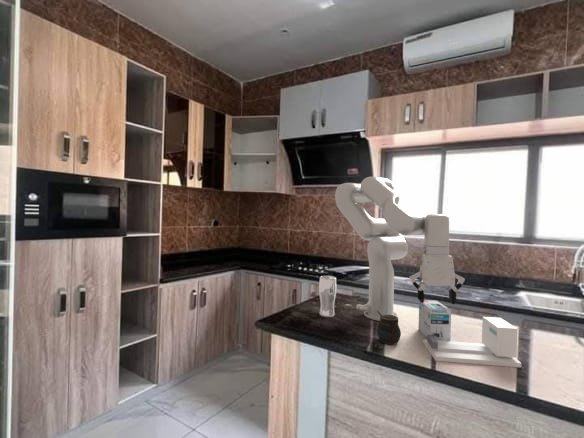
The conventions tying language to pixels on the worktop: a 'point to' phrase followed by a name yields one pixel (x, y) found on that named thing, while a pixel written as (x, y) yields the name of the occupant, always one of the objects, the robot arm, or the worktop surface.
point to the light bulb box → (435, 320)
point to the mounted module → (499, 336)
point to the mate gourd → (388, 329)
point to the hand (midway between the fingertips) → (436, 302)
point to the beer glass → (327, 295)
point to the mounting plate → (466, 353)
